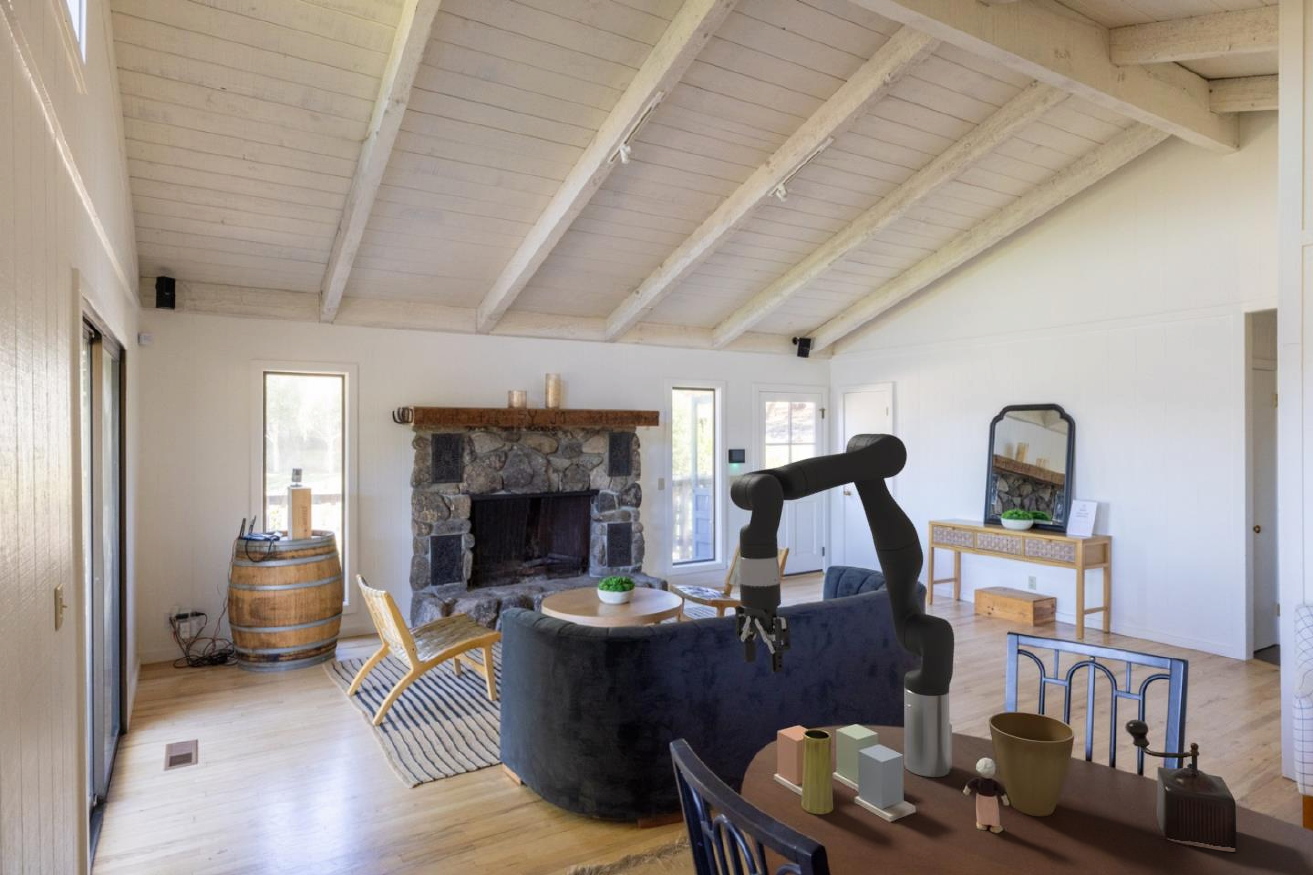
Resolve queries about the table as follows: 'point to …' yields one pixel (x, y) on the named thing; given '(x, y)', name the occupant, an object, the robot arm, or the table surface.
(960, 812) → the table surface
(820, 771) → the vase
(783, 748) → the terracotta block
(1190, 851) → the table surface
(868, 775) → the slate block
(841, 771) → the sage block
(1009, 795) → the plant pot
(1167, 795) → the dark brown coffee grinder
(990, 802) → the grandmother figurine
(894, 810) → the block bases
